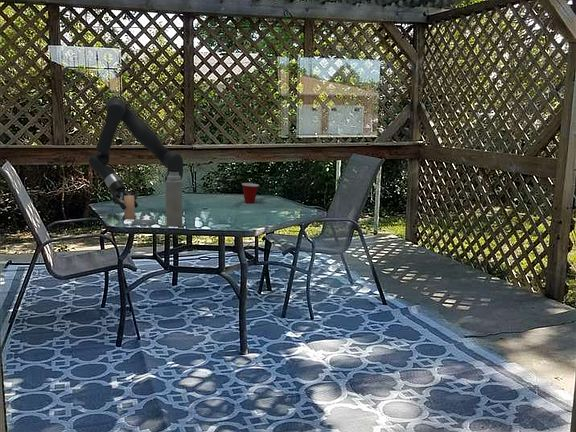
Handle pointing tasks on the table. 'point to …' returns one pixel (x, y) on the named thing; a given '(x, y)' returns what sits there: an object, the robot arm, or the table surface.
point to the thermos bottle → (173, 199)
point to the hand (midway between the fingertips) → (130, 207)
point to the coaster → (143, 222)
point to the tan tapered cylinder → (129, 207)
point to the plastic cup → (249, 192)
